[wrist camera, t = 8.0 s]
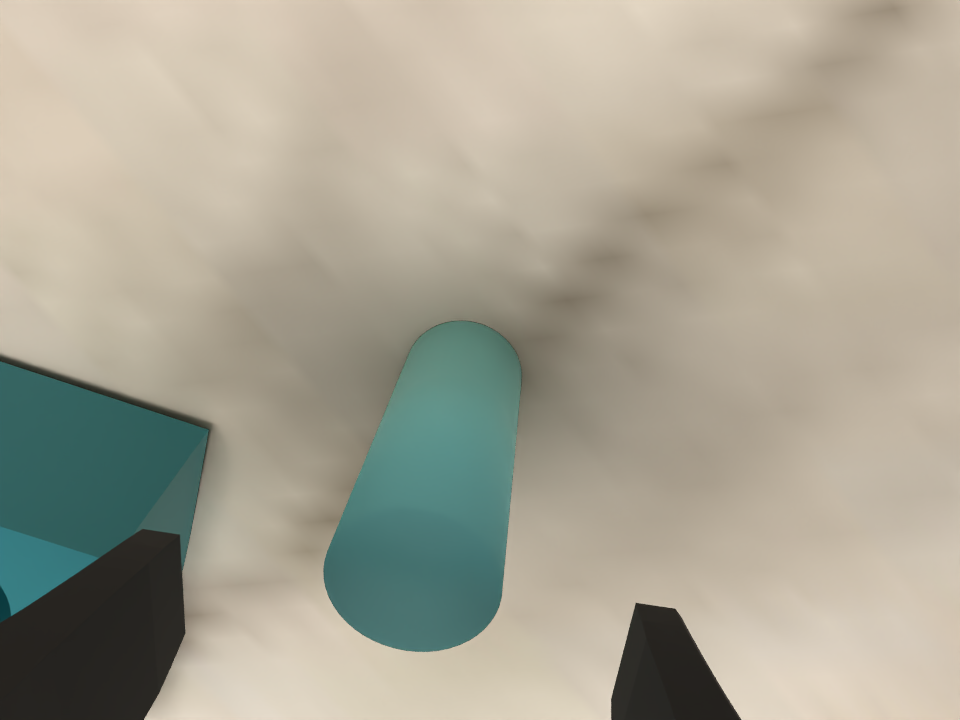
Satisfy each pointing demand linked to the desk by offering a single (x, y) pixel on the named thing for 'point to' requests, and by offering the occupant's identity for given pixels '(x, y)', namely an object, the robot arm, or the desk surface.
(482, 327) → the dowel
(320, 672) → the desk surface
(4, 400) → the teal l-shaped bracket
